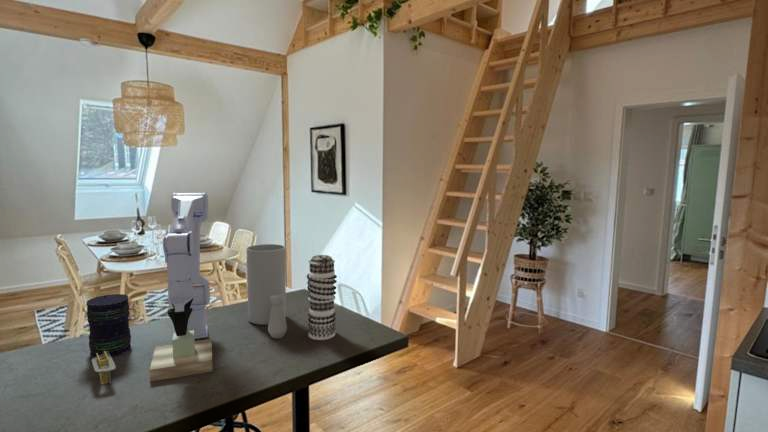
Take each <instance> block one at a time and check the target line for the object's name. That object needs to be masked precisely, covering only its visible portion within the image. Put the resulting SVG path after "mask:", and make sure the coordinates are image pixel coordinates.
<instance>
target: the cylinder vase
mask: <svg viewBox="0 0 768 432" xmlns="http://www.w3.org/2000/svg"><path fill="white" fill-rule="evenodd" d="M246 280H247V281H246V283H247V288H246V289H247V319H248V322H250V323H251V324H254V325H260V326H267V325H269V319H270V313H271V307H272V303H270V297H271V296H272V295H275V294H282V295H283V296H284V302H283V308H284V314H285V318H286V316H287V311H286V310H287V308H286V307H287V305H286V300H287V299H286V290H287V289H286V246H285V245H282V244H272V243H265V244H256V245H255V244H254V245H251V246H247V247H246Z"/></svg>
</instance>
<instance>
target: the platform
mask: <svg viewBox="0 0 768 432" xmlns="http://www.w3.org/2000/svg"><path fill="white" fill-rule="evenodd" d="M91 363H92V367H93V369H94V371H95V372H96V373H97V372H98V373H99V380H100V381H99V382H100V385H104V384H107V383H109V385H110V386H112V376H111V371H113V370H115V369H116V364H115V361H114V360H113V357H111V355H110V353H106V352H105V351H104V354H101V355H99V356H98V354H97V357H95V358H92V359H91Z"/></svg>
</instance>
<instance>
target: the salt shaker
mask: <svg viewBox="0 0 768 432" xmlns="http://www.w3.org/2000/svg"><path fill="white" fill-rule="evenodd" d="M283 302H284V296H283V295H282V294H275V295H272V296H271V297H270V303H272V307H271V313H270V319H269V325H268V326H267V331H268V333H269V335H270V337H271V338H272V339H281V338H284V336H285V335H286V333H287V331H288V326H287V319H286V317H285V314H284V308H283Z"/></svg>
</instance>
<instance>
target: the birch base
mask: <svg viewBox="0 0 768 432" xmlns="http://www.w3.org/2000/svg"><path fill="white" fill-rule="evenodd" d="M212 347H213V346H212V338H210V339H204V340H203V339H202V340H196V341H195V356H188V357H181V358H175V359H173V345H172V344H166V345H161V346H160V345H158V346H155V348H154V352H153V355H152V358H151V359H152V360H151V363H150V368H149V382H157V381H162V380H169V379H174V378H179V377H182V378H183V377H186V376H192V375H199V374H206V373H211V372H214V371H213V349H212Z"/></svg>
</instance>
